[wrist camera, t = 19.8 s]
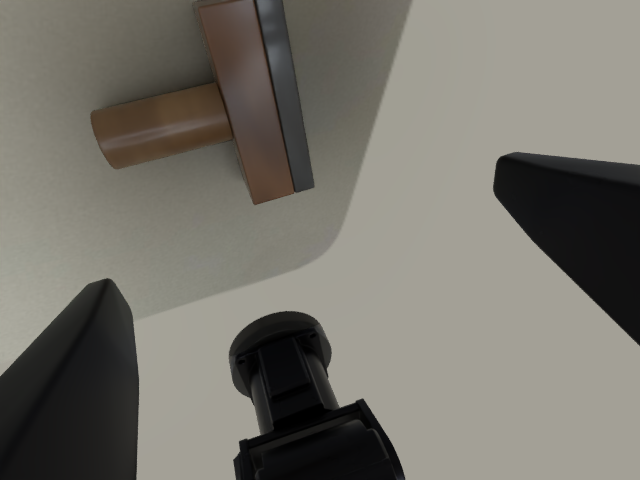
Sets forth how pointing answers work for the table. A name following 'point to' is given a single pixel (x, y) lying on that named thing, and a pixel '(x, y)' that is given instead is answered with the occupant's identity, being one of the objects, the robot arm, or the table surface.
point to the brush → (225, 104)
